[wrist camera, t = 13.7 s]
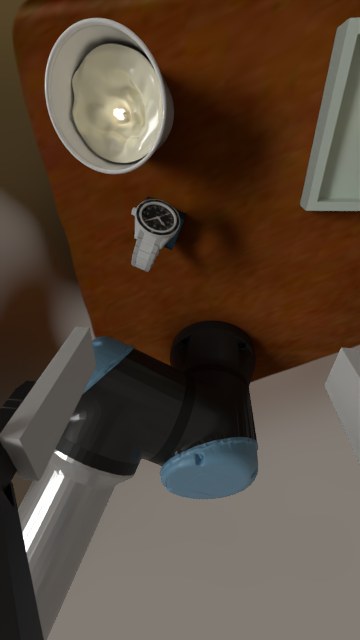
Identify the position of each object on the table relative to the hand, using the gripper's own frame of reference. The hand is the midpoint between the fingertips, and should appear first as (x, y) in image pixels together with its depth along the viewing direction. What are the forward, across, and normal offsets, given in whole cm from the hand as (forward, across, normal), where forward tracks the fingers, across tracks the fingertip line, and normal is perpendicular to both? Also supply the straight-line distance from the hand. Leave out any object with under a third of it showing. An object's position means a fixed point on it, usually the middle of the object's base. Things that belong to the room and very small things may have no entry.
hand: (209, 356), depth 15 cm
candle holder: (+28, +9, -12) cm, 32 cm away
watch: (+28, +7, 0) cm, 29 cm away
